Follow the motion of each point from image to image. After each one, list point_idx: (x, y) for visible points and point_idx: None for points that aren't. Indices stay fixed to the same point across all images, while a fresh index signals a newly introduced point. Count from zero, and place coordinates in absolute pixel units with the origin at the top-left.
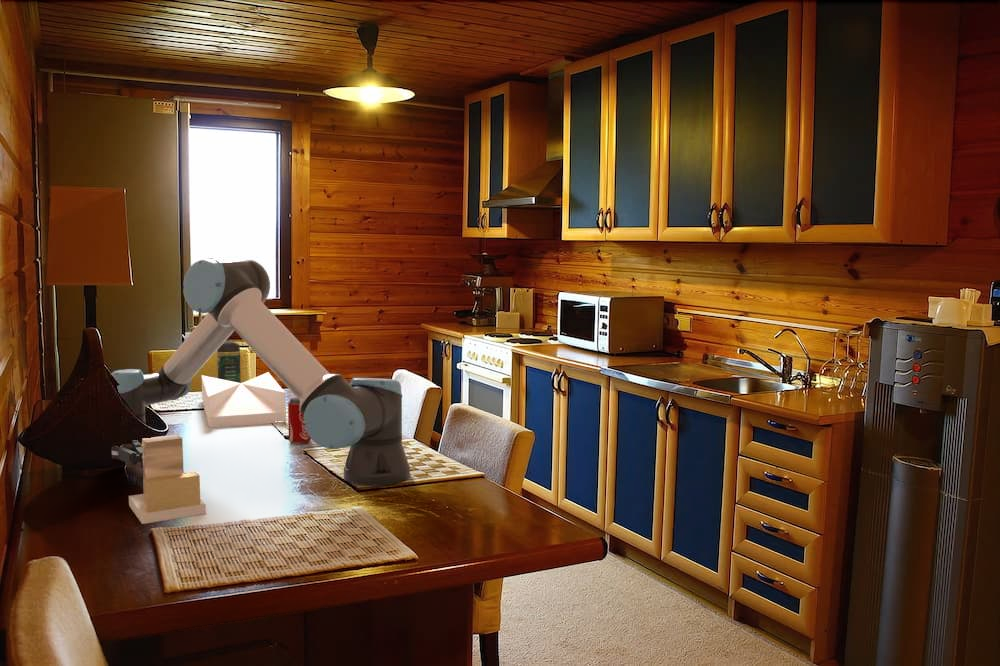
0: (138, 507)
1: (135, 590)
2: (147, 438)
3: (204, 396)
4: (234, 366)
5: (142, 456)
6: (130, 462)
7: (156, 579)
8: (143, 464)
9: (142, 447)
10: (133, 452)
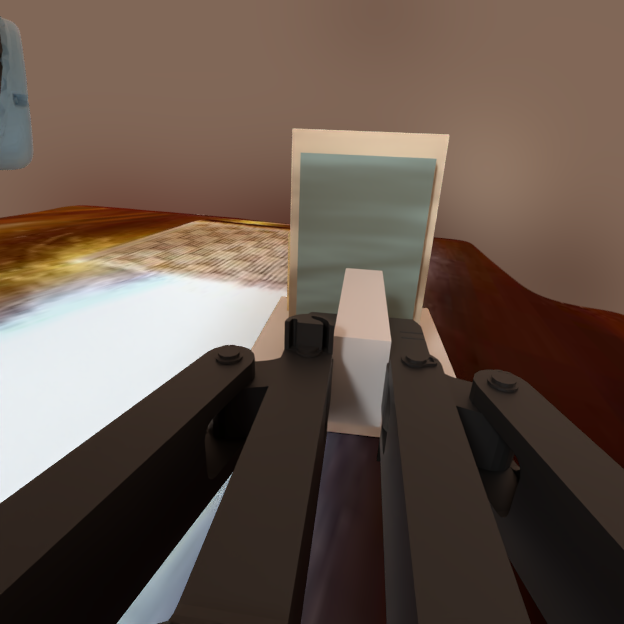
0: (434, 332)
1: (439, 247)
2: (425, 134)
3: None
4: None
5: (422, 351)
6: (516, 467)
7: None
8: (429, 249)
9: (441, 177)
10: (504, 375)
